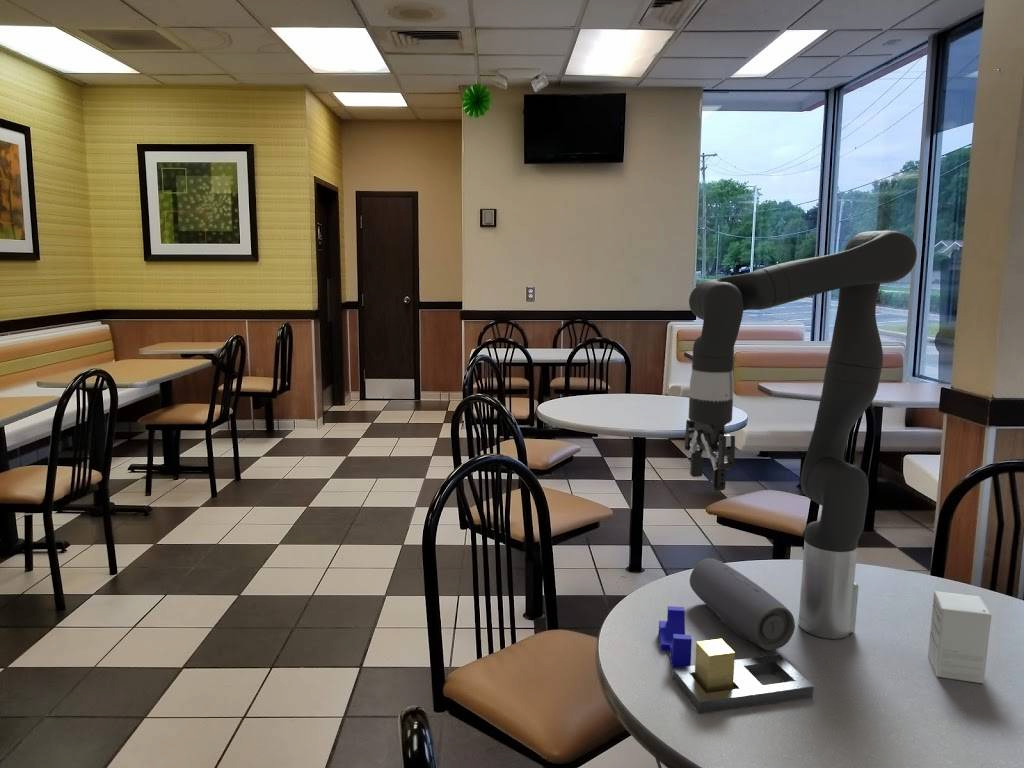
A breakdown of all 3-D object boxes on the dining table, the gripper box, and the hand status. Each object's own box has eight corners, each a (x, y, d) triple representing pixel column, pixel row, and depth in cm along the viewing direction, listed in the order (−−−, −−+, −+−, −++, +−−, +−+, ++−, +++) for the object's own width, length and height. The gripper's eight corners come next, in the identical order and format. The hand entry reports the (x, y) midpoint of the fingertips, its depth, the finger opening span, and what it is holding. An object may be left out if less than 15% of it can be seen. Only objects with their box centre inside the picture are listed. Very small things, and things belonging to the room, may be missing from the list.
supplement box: (973, 662, 133) (981, 595, 130) (984, 685, 126) (992, 614, 123) (926, 655, 135) (933, 589, 133) (934, 677, 128) (942, 607, 126)
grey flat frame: (778, 664, 132) (779, 654, 131) (812, 697, 122) (813, 686, 122) (672, 678, 127) (672, 668, 127) (699, 713, 118) (700, 702, 117)
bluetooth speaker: (796, 652, 136) (800, 601, 134) (751, 660, 133) (754, 608, 131) (725, 598, 157) (728, 552, 155) (686, 604, 154) (688, 558, 153)
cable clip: (658, 635, 142) (659, 605, 141) (682, 636, 142) (684, 607, 141) (663, 669, 130) (665, 637, 129) (690, 671, 130) (691, 639, 129)
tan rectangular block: (719, 682, 126) (721, 638, 125) (732, 698, 122) (734, 652, 121) (694, 686, 125) (696, 641, 124) (706, 701, 121) (709, 655, 120)
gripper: (751, 401, 127) (746, 493, 130) (711, 387, 141) (707, 470, 144) (710, 403, 126) (706, 496, 128) (674, 388, 139) (671, 473, 142)
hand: (707, 482), depth 136 cm, fingers open, 8 cm apart
